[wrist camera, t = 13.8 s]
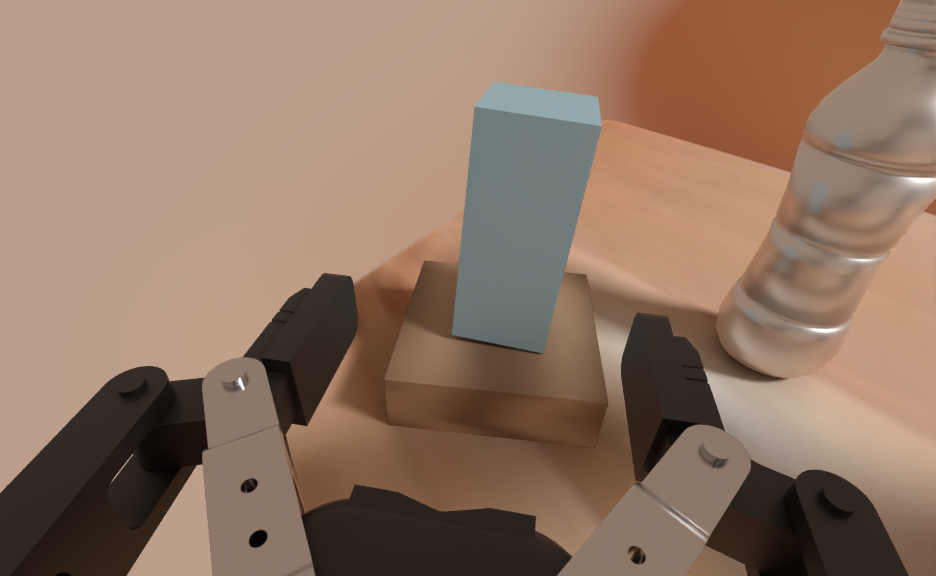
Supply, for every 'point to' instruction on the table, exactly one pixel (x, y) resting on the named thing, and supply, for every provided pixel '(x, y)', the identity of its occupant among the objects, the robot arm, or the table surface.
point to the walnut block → (496, 370)
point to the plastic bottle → (841, 206)
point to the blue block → (521, 210)
